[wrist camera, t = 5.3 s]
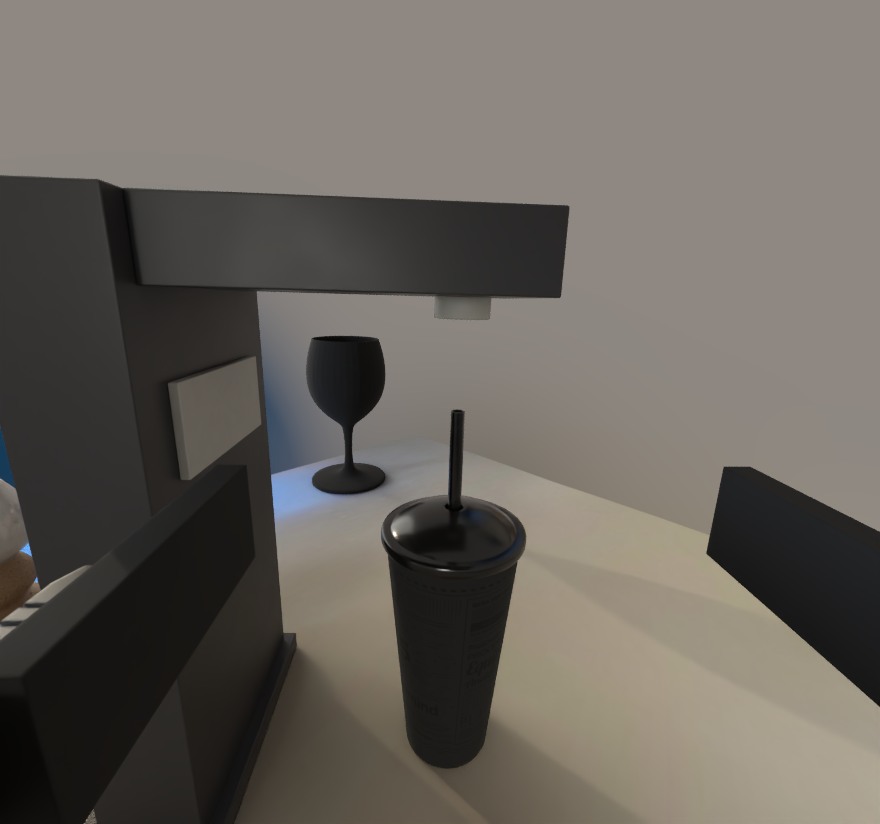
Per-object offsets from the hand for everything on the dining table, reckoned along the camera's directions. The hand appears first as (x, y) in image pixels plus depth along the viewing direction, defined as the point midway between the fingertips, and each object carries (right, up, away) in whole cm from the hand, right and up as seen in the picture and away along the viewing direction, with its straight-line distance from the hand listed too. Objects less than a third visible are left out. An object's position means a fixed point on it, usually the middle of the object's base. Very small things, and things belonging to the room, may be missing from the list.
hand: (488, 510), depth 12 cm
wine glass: (-14, -7, +50) cm, 52 cm away
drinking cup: (-1, -17, +14) cm, 22 cm away
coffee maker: (-8, -17, +14) cm, 23 cm away
